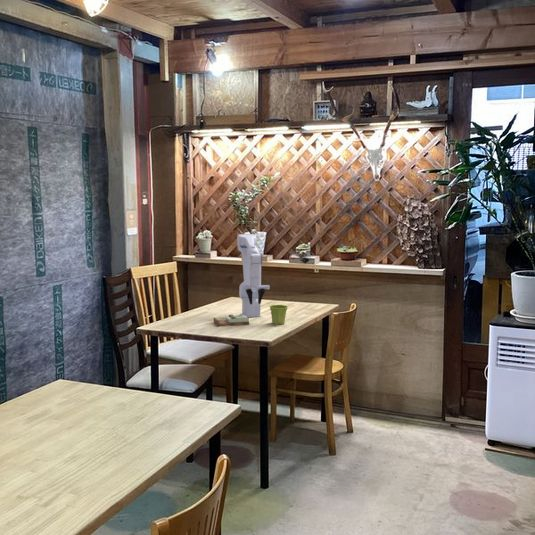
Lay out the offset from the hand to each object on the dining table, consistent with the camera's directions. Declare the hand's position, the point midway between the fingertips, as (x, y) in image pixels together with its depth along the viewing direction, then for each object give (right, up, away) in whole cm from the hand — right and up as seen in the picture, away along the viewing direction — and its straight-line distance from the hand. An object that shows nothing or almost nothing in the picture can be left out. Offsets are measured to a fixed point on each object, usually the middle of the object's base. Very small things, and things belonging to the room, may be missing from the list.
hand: (255, 303), depth 310 cm
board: (-12, -10, -3) cm, 16 cm away
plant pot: (+12, -10, -1) cm, 15 cm away
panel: (-9, -8, -2) cm, 12 cm away
